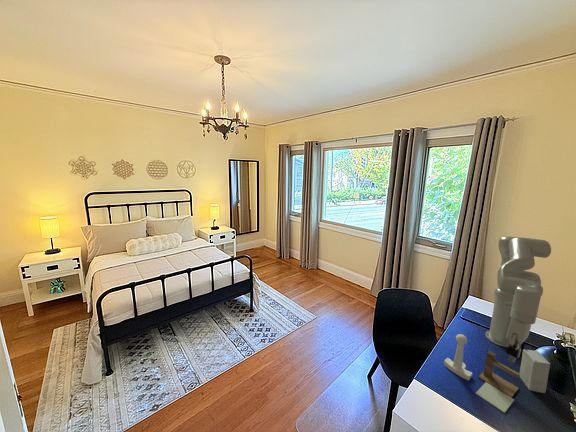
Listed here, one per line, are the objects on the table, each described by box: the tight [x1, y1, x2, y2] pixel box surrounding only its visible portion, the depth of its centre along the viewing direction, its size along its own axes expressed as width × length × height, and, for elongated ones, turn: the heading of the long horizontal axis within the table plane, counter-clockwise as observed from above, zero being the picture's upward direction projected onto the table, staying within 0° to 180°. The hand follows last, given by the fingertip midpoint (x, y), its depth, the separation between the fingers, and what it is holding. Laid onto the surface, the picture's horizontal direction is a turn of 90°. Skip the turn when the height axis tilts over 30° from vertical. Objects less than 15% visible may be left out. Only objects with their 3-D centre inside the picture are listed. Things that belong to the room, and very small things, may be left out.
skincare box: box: [518, 348, 551, 394], centre depth 108 cm, size 8×6×15 cm
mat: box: [475, 381, 515, 414], centre depth 104 cm, size 10×10×1 cm
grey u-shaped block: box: [507, 340, 522, 364], centre depth 104 cm, size 7×2×8 cm, turn 121°
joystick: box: [443, 333, 473, 381], centre depth 116 cm, size 11×8×20 cm
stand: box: [478, 350, 520, 398], centre depth 109 cm, size 8×12×13 cm, turn 31°
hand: (515, 351), depth 104 cm, fingers closed on grey u-shaped block, 7 cm apart
